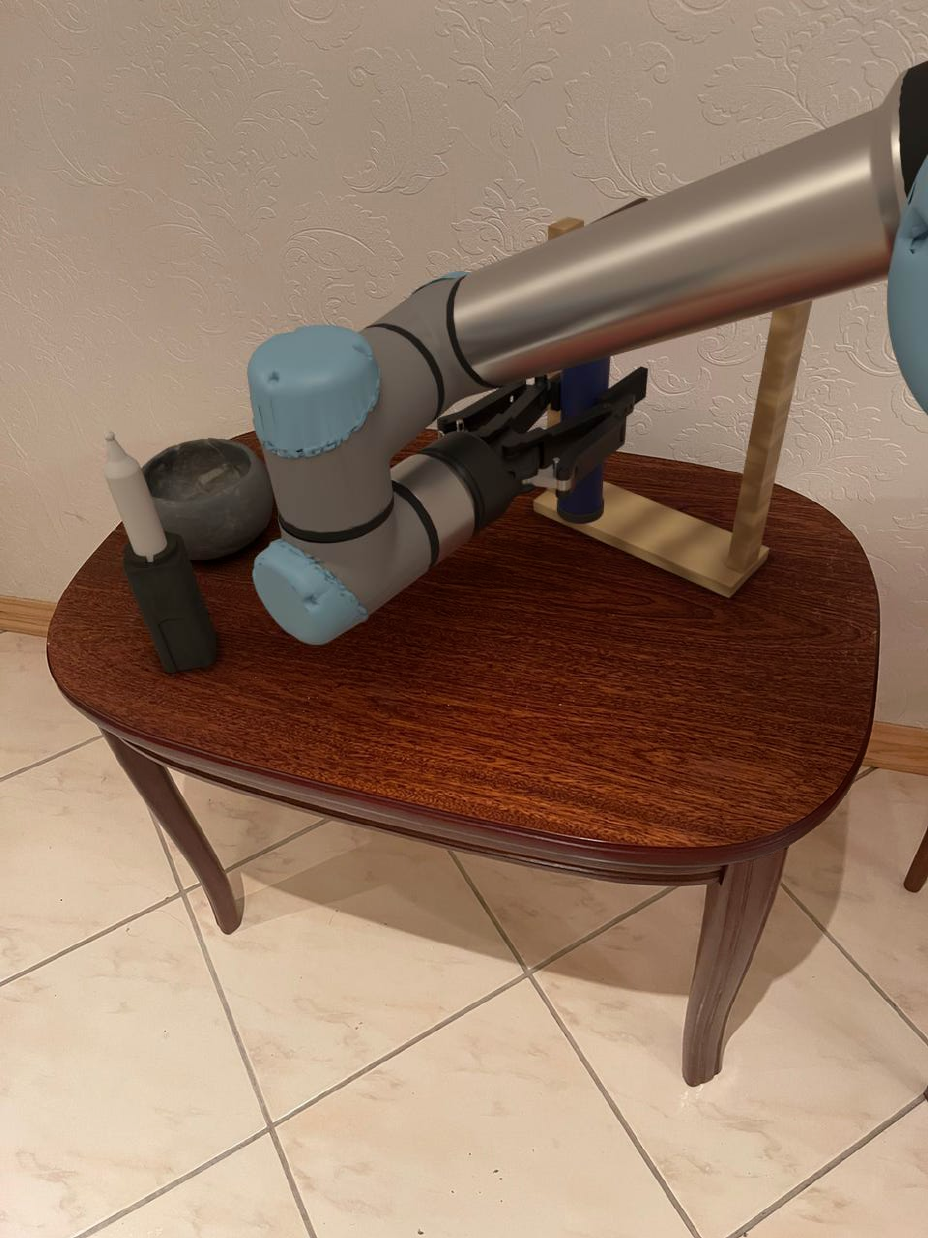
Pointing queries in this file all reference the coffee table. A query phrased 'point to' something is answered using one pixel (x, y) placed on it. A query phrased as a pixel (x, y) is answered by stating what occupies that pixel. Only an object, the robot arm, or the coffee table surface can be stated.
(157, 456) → the bowl
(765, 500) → the rack
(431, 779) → the coffee table surface
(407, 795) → the coffee table surface
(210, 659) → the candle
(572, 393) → the umbrella
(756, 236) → the robot arm
